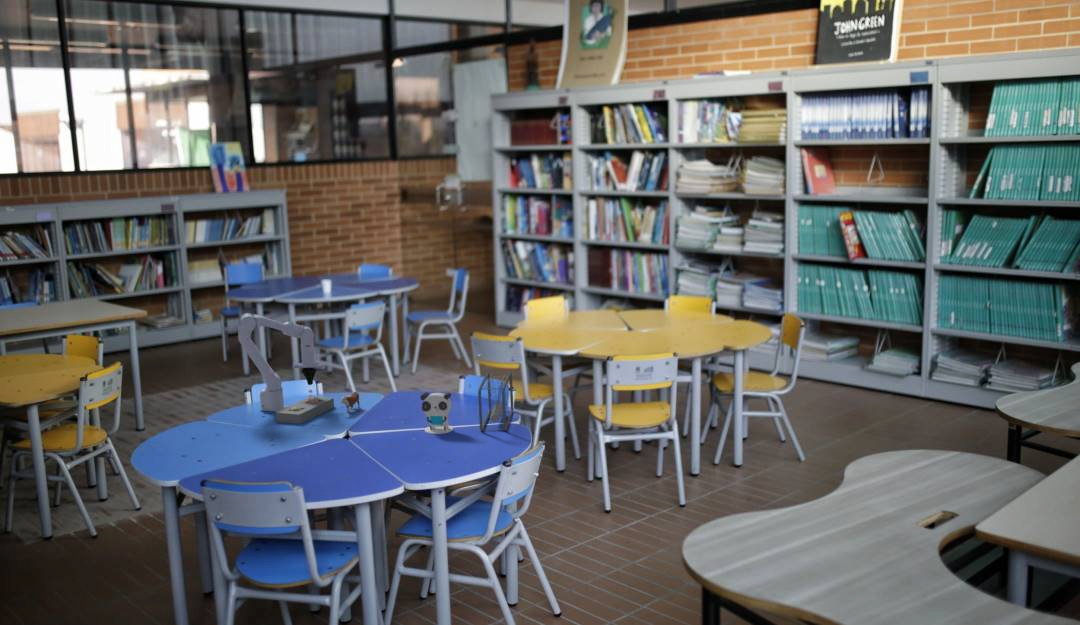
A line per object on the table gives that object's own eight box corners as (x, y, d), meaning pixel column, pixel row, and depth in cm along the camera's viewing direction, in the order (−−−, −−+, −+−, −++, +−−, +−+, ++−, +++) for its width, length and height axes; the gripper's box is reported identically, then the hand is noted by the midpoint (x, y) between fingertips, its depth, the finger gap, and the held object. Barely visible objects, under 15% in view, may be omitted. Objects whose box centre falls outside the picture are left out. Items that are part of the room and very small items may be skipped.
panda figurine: (418, 433, 379) (416, 396, 377) (428, 425, 390) (426, 389, 388) (447, 434, 377) (445, 397, 374) (457, 426, 387) (455, 390, 385)
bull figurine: (339, 415, 409) (337, 396, 408) (354, 406, 422) (352, 388, 420) (348, 415, 408) (347, 397, 406) (363, 407, 420) (361, 389, 419)
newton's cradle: (506, 432, 377) (504, 388, 374) (479, 433, 378) (477, 389, 374) (513, 411, 406) (512, 370, 403) (489, 411, 407) (487, 370, 404)
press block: (276, 421, 402) (275, 412, 401) (310, 405, 426) (310, 396, 425) (300, 423, 398) (300, 414, 397) (334, 406, 422) (333, 398, 421)
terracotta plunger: (306, 407, 416) (306, 399, 416) (312, 404, 421) (311, 396, 420) (315, 407, 415) (314, 400, 414) (321, 405, 419) (320, 397, 418)
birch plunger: (289, 417, 405) (288, 409, 404) (295, 414, 409) (294, 406, 408) (298, 418, 403) (297, 410, 402) (304, 415, 407) (303, 407, 407)
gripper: (288, 356, 420) (291, 386, 423) (319, 356, 417) (321, 386, 420) (295, 352, 427) (298, 382, 429) (326, 353, 424) (328, 382, 426)
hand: (310, 384), depth 425 cm, fingers closed
